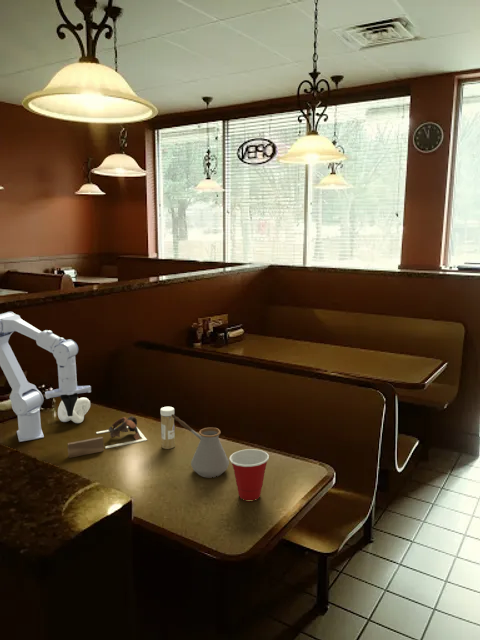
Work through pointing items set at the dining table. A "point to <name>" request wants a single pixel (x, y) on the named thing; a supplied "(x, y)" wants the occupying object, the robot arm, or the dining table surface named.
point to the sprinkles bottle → (167, 427)
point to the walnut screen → (85, 447)
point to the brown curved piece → (124, 427)
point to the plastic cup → (249, 472)
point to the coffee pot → (207, 452)
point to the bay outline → (125, 442)
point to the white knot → (74, 411)
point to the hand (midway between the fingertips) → (69, 415)
